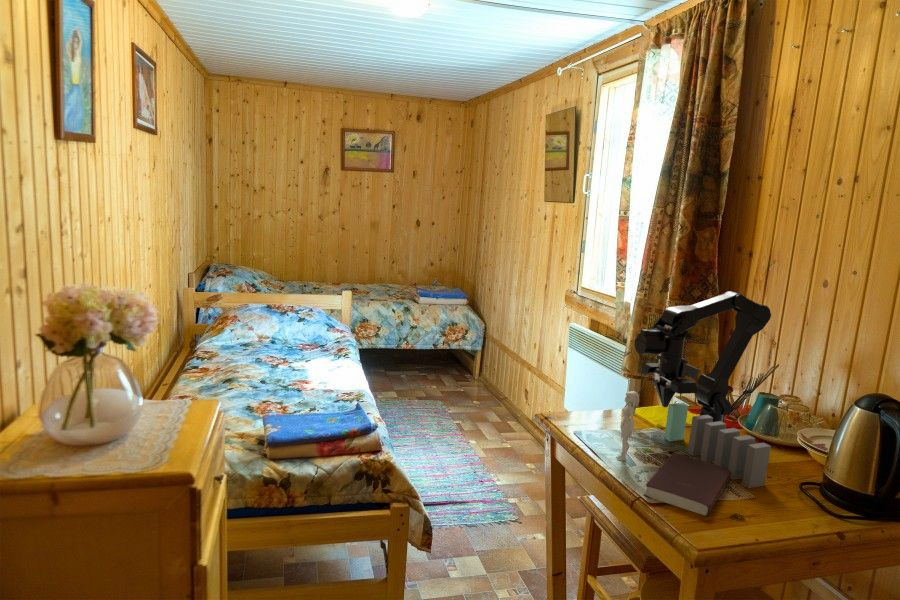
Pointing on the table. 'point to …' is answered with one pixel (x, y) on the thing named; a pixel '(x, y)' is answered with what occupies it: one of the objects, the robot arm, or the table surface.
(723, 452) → the domino
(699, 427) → the domino
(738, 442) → the domino
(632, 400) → the human figurine
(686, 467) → the book
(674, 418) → the domino head
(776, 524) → the table surface
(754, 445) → the domino
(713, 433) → the domino
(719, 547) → the table surface
